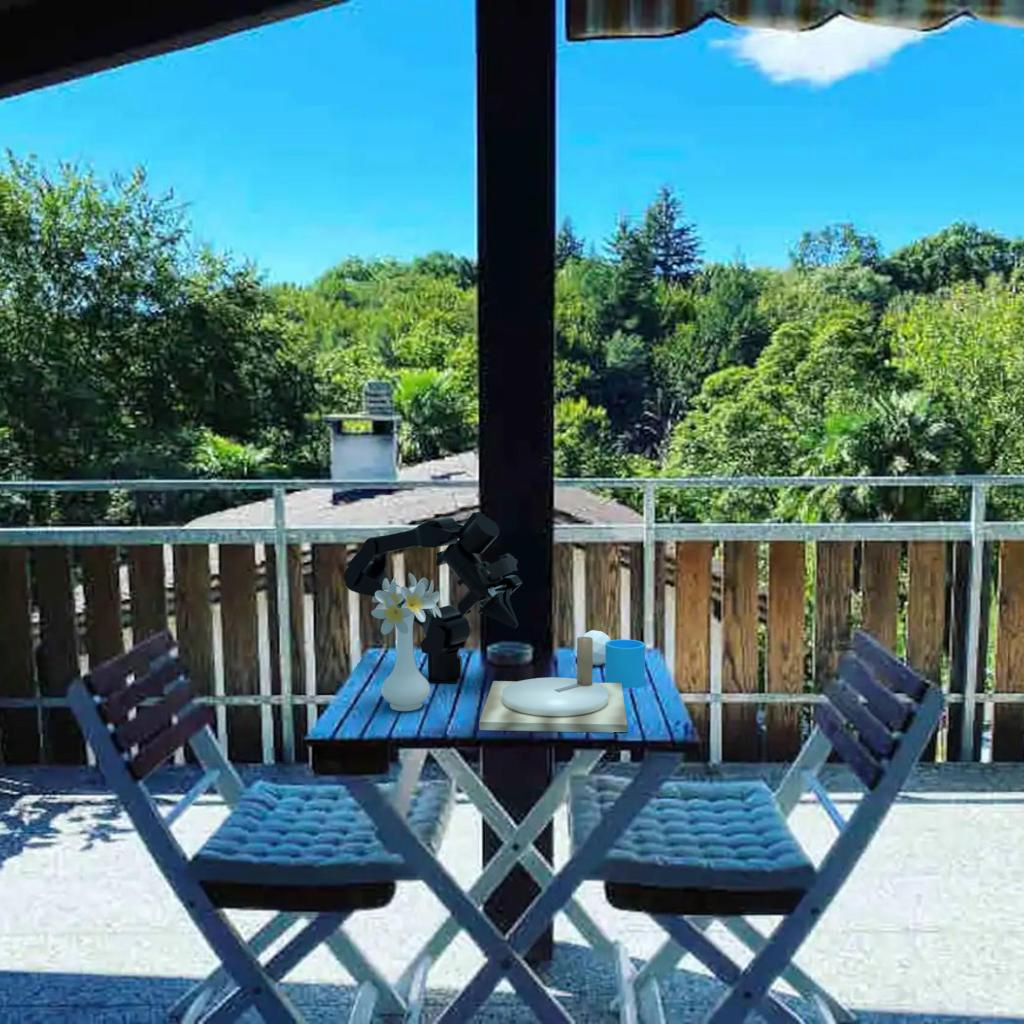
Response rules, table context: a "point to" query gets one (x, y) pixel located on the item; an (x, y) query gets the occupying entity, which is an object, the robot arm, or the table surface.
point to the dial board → (511, 720)
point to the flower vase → (405, 639)
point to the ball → (598, 645)
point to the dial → (560, 690)
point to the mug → (625, 662)
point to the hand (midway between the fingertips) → (516, 626)
